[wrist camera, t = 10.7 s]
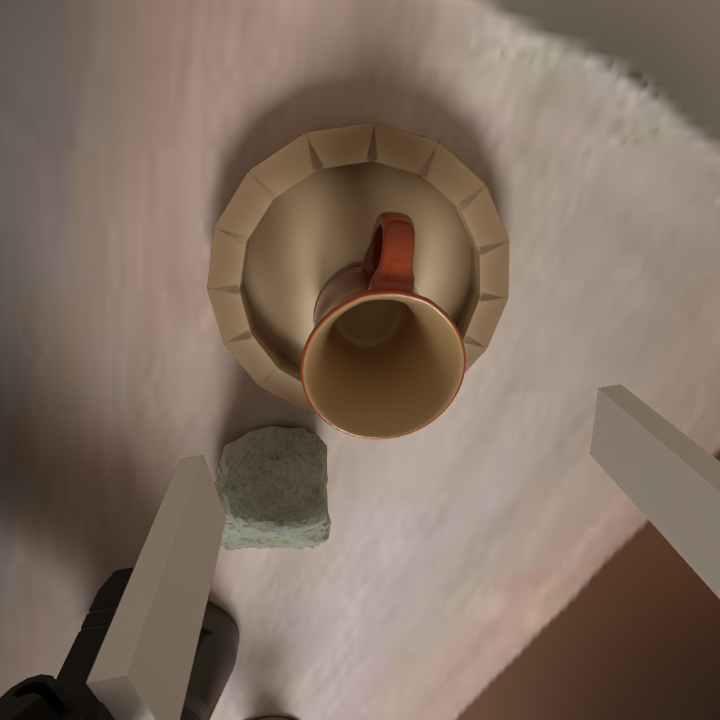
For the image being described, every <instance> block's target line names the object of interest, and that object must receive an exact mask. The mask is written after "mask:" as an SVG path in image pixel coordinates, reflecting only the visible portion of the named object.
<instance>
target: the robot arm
mask: <svg viewBox="0 0 720 720" xmlns="http://www.w3.org/2000/svg"><path fill="white" fill-rule="evenodd" d="M590 454H591V455H592V456H593V458H594V459H595V460H596V461H597V462H598V463H599V464H600V465H601V467H602V468H603V469H604V470H605V471H606V472H607V473H608V474H609V476H610V477H611V478H612V479H613V480H614V481H615V482H616V483H617V484H618V486H619V487H620V488H621V489H622V490H623V491H624V492H625V493H626V495H627V496H628V497H629V498H630V499H631V500H632V501H633V502H634V504H635V505H636V506H637V507H638V508H639V509H640V510H641V511H642V512H643V514H644V515H645V516H646V517H647V518H648V519H649V520H650V521H651V523H652V524H653V525H654V526H655V527H656V528H657V529H658V530H659V532H660V533H661V534H662V535H663V536H664V537H665V538H666V539H667V540H668V541H669V543H670V544H671V545H672V546H673V547H674V548H675V549H676V551H677V552H678V553H679V554H680V555H681V556H682V557H683V558H684V559H685V561H686V562H687V563H688V564H689V565H690V566H691V567H692V568H693V570H694V571H695V572H696V573H697V574H698V575H699V576H700V577H701V578H702V580H703V581H704V582H705V583H706V584H707V585H708V586H709V588H710V589H711V590H712V591H713V592H714V593H715V594H716V595H717V596H718V598H719V599H720V462H719V461H718V460H717V459H716V458H714V457H713V456H712V455H710V454H709V453H708V452H707V451H705V450H704V449H703V448H701V447H700V446H699V445H698V444H696V443H695V442H694V441H693V440H691V439H690V438H689V437H687V436H686V435H685V434H684V433H682V432H681V431H680V430H678V429H677V428H676V427H675V426H673V425H672V424H671V423H670V422H668V421H667V420H666V419H664V418H663V417H662V416H661V415H659V414H658V413H657V412H655V411H654V410H653V409H652V408H650V407H649V406H648V405H647V404H645V403H644V402H643V401H641V400H640V399H639V398H638V397H636V396H635V395H634V394H632V393H631V392H630V391H629V390H627V389H626V388H625V387H624V386H622V385H621V384H620V385H614V386H608V387H602V388H598V394H597V402H596V411H595V419H594V427H593V435H592V443H591V451H590ZM226 518H227V517H226V514H225V511H224V509H223V506H222V503H221V501H220V498H219V495H218V492H217V490H216V487H215V484H214V482H213V479H212V476H211V474H210V471H209V468H208V466H207V463H206V460H205V458H204V455H202V456H196V457H190V458H184V459H180V460H179V463H178V465H177V468H176V470H175V472H174V475H173V477H172V479H171V482H170V484H169V487H168V489H167V491H166V494H165V496H164V499H163V501H162V503H161V506H160V508H159V510H158V513H157V515H156V518H155V520H154V522H153V525H152V527H151V529H150V532H149V534H148V537H147V539H146V541H145V544H144V546H143V549H142V551H141V553H140V556H139V558H138V560H137V563H136V565H135V567H134V568H128V569H122V570H117V571H115V572H114V573H113V574H112V575H111V576H110V578H109V579H108V580H107V581H106V582H105V583H104V585H103V586H102V587H101V588H100V589H99V591H98V593H97V595H96V597H95V599H94V601H93V604H92V606H91V608H90V610H89V611H90V612H89V614H87V616H86V618H85V620H84V622H83V624H82V627H81V632H79V633H78V635H77V637H76V639H75V641H74V643H73V645H72V647H71V650H70V652H69V654H68V656H67V658H66V660H65V662H64V664H63V666H62V668H61V670H60V672H59V675H58V677H57V679H55V678H54V677H53V676H50V675H43V674H41V675H37V676H34V677H30V678H27V679H25V680H24V681H22V682H20V683H19V684H17V685H15V686H13V687H12V688H11V689H10V690H8V691H7V692H6V693H5V694H4V695H3V696H2V697H1V698H0V720H210V718H211V715H212V713H213V711H214V709H215V707H216V705H217V703H218V701H219V698H220V696H221V694H222V692H223V690H224V688H225V686H226V684H227V681H228V679H229V677H230V675H231V673H232V671H233V668H234V666H235V662H236V657H237V651H238V644H239V633H238V629H237V627H236V625H235V623H234V622H233V620H232V619H231V618H230V617H229V616H228V615H227V614H226V613H225V612H224V611H223V610H221V609H220V608H218V607H217V606H215V605H213V604H211V603H209V602H207V600H208V596H209V591H210V587H211V583H212V578H213V574H214V570H215V565H216V561H217V557H218V552H219V548H220V544H221V539H222V535H223V531H224V526H225V522H226Z"/></svg>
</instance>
